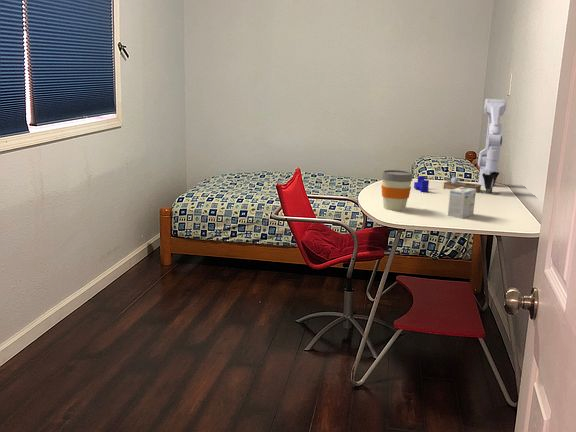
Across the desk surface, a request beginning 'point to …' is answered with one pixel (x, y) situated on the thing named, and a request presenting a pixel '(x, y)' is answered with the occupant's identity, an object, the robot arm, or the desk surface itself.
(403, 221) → the desk surface
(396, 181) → the reusable coffee cup
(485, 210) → the desk surface
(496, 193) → the rubber mat
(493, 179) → the steel pin
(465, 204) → the light bulb box
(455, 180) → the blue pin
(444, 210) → the desk surface
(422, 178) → the blue stepped block
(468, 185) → the walnut hole block
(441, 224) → the desk surface
